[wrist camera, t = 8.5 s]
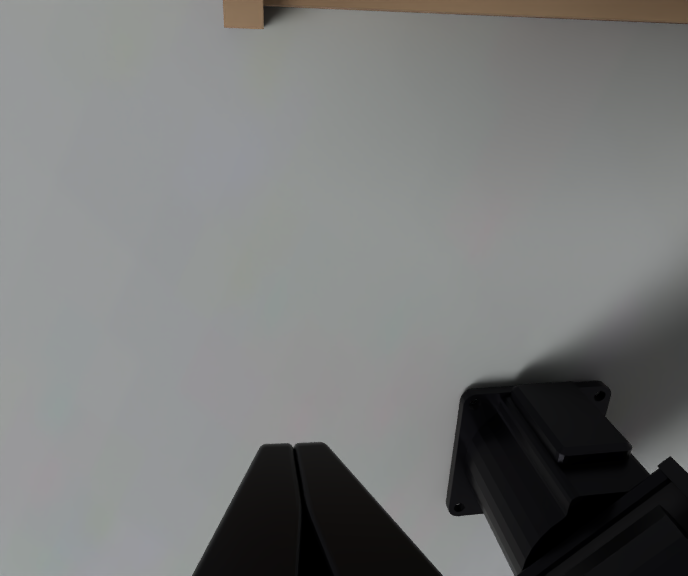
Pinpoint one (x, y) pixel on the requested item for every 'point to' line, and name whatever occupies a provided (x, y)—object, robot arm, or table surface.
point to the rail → (476, 9)
